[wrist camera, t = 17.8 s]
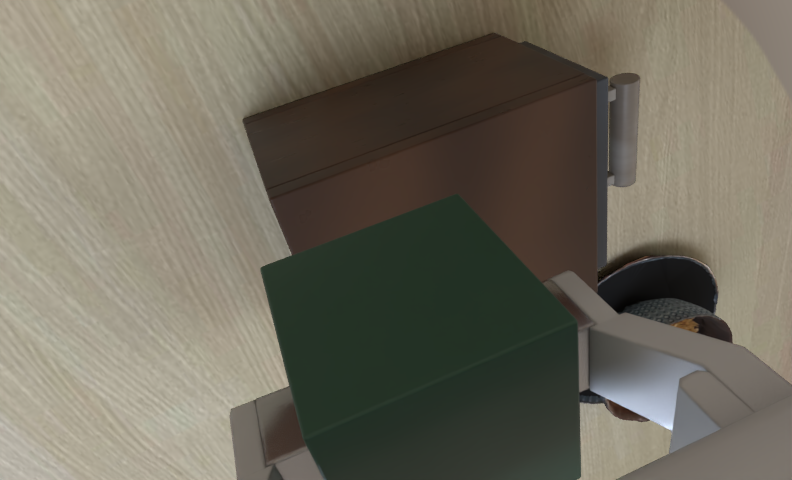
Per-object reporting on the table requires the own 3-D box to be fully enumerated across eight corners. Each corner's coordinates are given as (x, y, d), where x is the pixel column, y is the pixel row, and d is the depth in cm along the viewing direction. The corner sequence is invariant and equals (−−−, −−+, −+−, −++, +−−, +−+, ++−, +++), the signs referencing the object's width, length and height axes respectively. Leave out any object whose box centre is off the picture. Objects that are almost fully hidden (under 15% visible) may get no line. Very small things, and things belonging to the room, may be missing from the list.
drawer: (595, 16, 30) (692, 46, 24) (595, 183, 36) (673, 237, 30) (294, 120, 27) (327, 180, 22) (350, 281, 33) (387, 359, 28)
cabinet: (495, 32, 29) (597, 78, 22) (515, 214, 36) (598, 292, 29) (241, 118, 27) (268, 199, 20) (313, 294, 34) (352, 399, 27)
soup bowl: (729, 239, 45) (816, 293, 39) (658, 387, 53) (721, 451, 47) (573, 253, 40) (646, 318, 34) (520, 414, 48) (572, 490, 42)
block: (457, 192, 12) (579, 319, 9) (481, 334, 15) (582, 477, 11) (258, 266, 12) (302, 439, 8) (320, 402, 14) (373, 578, 11)
